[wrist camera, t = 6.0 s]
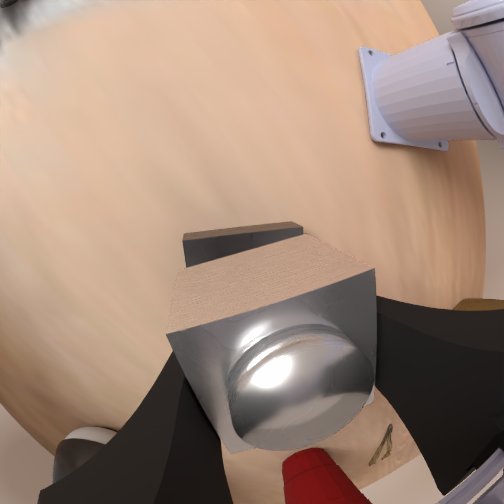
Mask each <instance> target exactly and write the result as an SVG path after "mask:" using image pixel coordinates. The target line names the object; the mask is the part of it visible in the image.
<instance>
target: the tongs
mask: <svg viewBox="0 0 504 504" xmlns="http://www.w3.org/2000/svg"><path fill="white" fill-rule="evenodd" d="M391 432H392V424H390V425H389V426H388V429H387V432H386V434H385V437H384V439H383V441H382V443H381V445H380V447H379V448H378V450H377V451H376V453H375V455H374V457H373V459H372V460H371V462H370V464H369V466H370V465H372V464H374V463H375V461H376V459H377V458H378V457H379V455H380V452H381V450H382V447H383V445H384V444H385V442H386V439H387V436H388V440H387V446H388V448H387V453H386V455H385V456H384V457H383V458H382V460H383V459H384V458H385V457H388V456H389V455H390V451H391V449H392V445H391Z"/></svg>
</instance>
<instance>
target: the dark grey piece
mask: <svg viewBox="0 0 504 504" xmlns="http://www.w3.org/2000/svg"><path fill="white" fill-rule="evenodd" d="M300 235H303V227H302V226H300V225H298V224H296V223H294V222H282V223H273V224H263V225H254V226H245V227H236V228H227V229H218V230H210V231H202V232H194V233H186V234H184V236H183V248H184V255H185V262H186V268H188V267H191V266H195V265H198V264H202V263H205V262H209V261H212V260H216V259H219V258H223V257H226V256H230V255H233V254H237V253H240V252H244V251H247V250H251V249H254V248H258V247H261V246H265V245H268V244H272V243H275V242H279V241H282V240H286V239H289V238H293V237H296V236H300Z"/></svg>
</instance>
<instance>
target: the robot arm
mask: <svg viewBox="0 0 504 504" xmlns="http://www.w3.org/2000/svg"><path fill="white" fill-rule="evenodd" d="M452 16H453V17H452V18H451V22H452V23H453V24H454V26H455V27H456V29H455V30H454V31H451V32H448V33H445V34H443V35H440V36H437V37H435V38H432V39H430V40H427V41H425V42H423V43H420V44H418V45H416V46H413V47H411V48H409V49H406V50H404V51H402V52H400V53H398V54H396V55H391V54H388V53H385V52H381V51H378V50H375V49H371V48H368V47H360V48H359V49H358V53H359V58H360V63H361V69H362V74H363V80H364V86H365V93H366V100H367V108H368V116H369V125H370V135H371V138H372V140H374V141H375V142H383V143H392V144H401V145H408V146H415V147H422V148H428V149H434V150H440V151H448V150H449V141H450V140H498V142H499V144H500V146H501V148H502V149H504V0H471V1H469V2H466V3H464V4H462V5H459V6H457V7H455V8H454V9H452ZM368 52H369V53H370V54H371V55H370V54H369V53H368ZM381 133H382V134H383V138H382V137H381ZM438 144H439V145H438ZM376 305H377V351H376V375H375V387H376V388H377V389H378V390H379V391H380V392H381V393H382V394H383V396H384V397H385V398H386V399H387V400H388V401H389V403H390V404H391V405H392V406H393V408H394V409H395V411H396V412H397V414H398V415H399V417H400V418H401V420H402V421H403V423H404V424H405V426H406V428H407V429H408V431H409V432H410V434H411V436H412V437H413V439H414V441H415V442H416V444H417V446H418V448H419V450H420V452H421V453H422V455H423V457H424V459H425V461H426V463H427V465H428V467H429V469H430V471H431V474H432V476H433V478H434V480H435V483H436V485H437V488H438V489H439V491H440V492H441V493H442V495H444V496H445V495H446V494H447V493H449V492H450V491H451V490H452V489H453V488H455V487H456V486H457V485H458V484H460V483H461V482H462V481H463V480H464V479H466V478H467V477H468V476H469V475H470V474H471V473H472V472H473V471H474V470H476V471H475V472H474V473H473V474H472V475H471V476H470V477H469V478H468V479H466V480H465V481H464V482H463V483H462V484H461V485H459V486H458V487H457V488H456V489H455V490H453V491H452V492H451V493H450V494H448V495H447V496H446V497H445V498H443V499H442V500H440V501H439V502H438V503H436V504H466V503H467V502H468V501H469V500H471V499H472V498H473V497H474V496H475V495H476V494H477V493H479V491H481V490H482V489H483V488H484V487H485V486H486V485H487V484H488V483H489V482H490V481H491V480H492V479H493V478H494V477H495V476H496V475H497V474H498V472H499V471H500V470H501V469H502V468H503V467H504V309H497V310H482V311H461V310H447V309H437V308H430V307H424V306H419V305H413V304H409V303H404V302H400V301H396V300H392V299H388V298H384V297H380V296H376ZM37 504H233V501H232V497H231V494H230V490H229V487H228V483H227V479H226V475H225V471H224V465H223V459H222V450H221V440H220V437H219V435H218V433H217V432H216V430H215V428H214V427H213V425H212V423H211V422H210V420H209V418H208V417H207V415H206V413H205V411H204V409H203V408H202V406H201V404H200V402H199V400H198V399H197V397H196V395H195V393H194V391H193V389H192V387H191V385H190V384H189V382H188V380H187V378H186V376H185V374H184V372H183V370H182V368H181V366H180V364H179V362H178V359H177V357H176V355H175V353H174V351H173V352H172V353H171V355H170V357H169V359H168V360H167V362H166V364H165V366H164V368H163V369H162V371H161V373H160V375H159V376H158V378H157V380H156V381H155V383H154V385H153V386H152V388H151V389H150V391H149V392H148V394H147V395H146V397H145V398H144V400H143V401H142V403H141V404H140V406H139V407H138V408H137V410H136V411H135V412H134V414H133V415H132V416H131V417H130V419H129V420H128V421H127V422H126V423H125V425H124V426H123V427H122V428H121V429H120V430H119V431H118V433H117V434H116V435H115V436H114V437H113V438H112V439H111V440H110V441H109V442H108V443H107V444H105V445H104V446H103V447H102V448H101V449H100V450H99V451H98V452H97V453H96V454H95V455H94V456H92V457H91V458H90V459H89V460H88V461H86V462H85V463H84V464H83V465H81V466H80V467H79V468H77V469H76V470H75V471H73V472H72V473H70V474H69V475H67V476H66V477H64V478H62V479H60V480H59V481H57V482H55V483H54V484H52V485H50V486H49V487H47V488H45V489H43V490H41V491H40V494H39V499H38V503H37ZM473 504H504V469H503V475H502V477H501V478H499V479H498V480H497V481H496V482H495V483H494V484H493V485H492V486H491V487H490V488H489V489H488V490H486V492H484V493H483V494H482V495H481V496H480V497H479V498H478V499H477V500H476V501H475V502H474V503H473Z"/></svg>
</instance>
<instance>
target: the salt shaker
mask: <svg viewBox="0 0 504 504" xmlns="http://www.w3.org/2000/svg"><path fill="white" fill-rule="evenodd" d="M16 1H17V0H0V7H1V8H3V7H7V6H9V5H11V4H13V3H14V2H16Z"/></svg>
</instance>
